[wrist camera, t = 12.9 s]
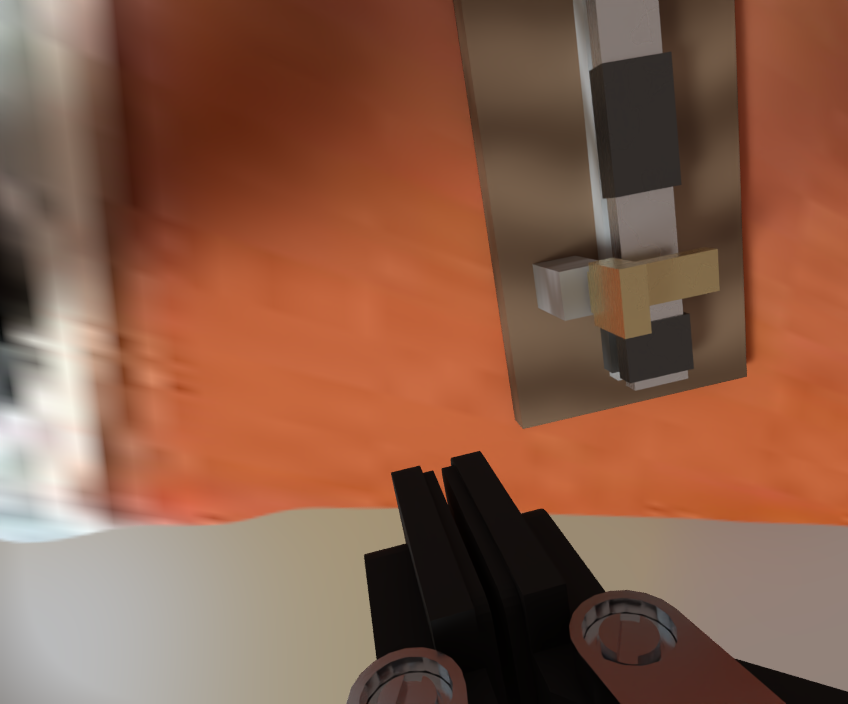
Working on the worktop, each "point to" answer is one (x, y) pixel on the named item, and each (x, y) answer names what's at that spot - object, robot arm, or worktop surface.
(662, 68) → the banded silver bar
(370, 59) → the worktop surface
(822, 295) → the worktop surface
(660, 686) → the robot arm
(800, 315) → the worktop surface
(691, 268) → the lock bolt
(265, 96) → the worktop surface
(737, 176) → the tong base
